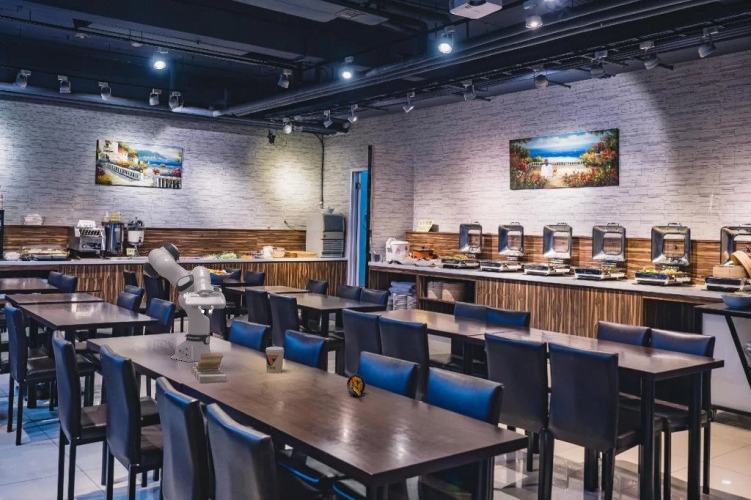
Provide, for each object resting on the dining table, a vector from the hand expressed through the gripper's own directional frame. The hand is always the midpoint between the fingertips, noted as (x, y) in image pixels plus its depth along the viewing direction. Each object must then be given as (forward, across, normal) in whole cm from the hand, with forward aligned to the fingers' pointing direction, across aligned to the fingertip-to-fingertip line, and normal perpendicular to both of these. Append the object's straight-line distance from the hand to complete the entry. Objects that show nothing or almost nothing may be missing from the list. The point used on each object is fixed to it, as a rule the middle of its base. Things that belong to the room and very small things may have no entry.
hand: (206, 314), depth 340 cm
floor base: (+26, 0, +15) cm, 30 cm away
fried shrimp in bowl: (+67, +55, -25) cm, 90 cm away
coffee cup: (+24, +34, +17) cm, 45 cm away
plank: (+25, 0, +6) cm, 26 cm away
